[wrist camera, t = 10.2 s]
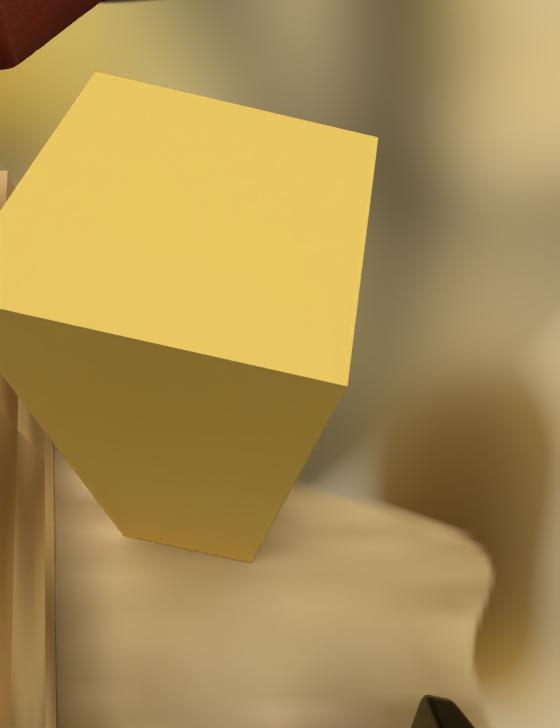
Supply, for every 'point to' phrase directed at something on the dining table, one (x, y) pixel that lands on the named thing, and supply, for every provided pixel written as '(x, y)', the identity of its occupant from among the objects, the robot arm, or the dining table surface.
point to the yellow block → (184, 303)
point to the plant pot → (34, 25)
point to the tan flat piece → (25, 560)
